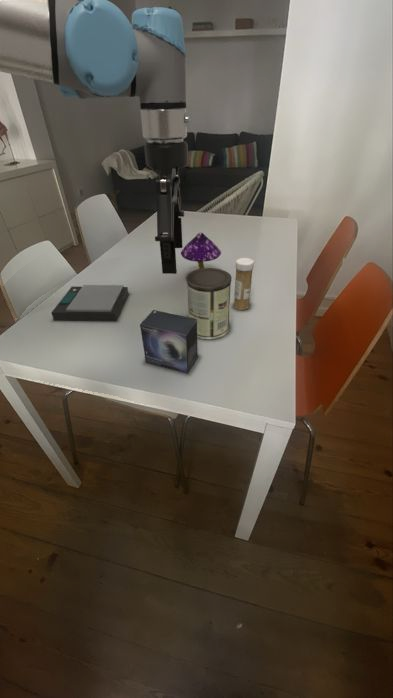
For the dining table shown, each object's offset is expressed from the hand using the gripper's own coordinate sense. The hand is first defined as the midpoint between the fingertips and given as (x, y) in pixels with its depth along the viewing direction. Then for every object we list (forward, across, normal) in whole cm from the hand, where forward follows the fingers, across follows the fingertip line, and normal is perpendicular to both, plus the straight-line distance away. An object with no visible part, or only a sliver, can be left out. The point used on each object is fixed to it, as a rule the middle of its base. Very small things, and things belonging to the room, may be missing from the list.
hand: (173, 259), depth 68 cm
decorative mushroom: (+19, +30, -5) cm, 36 cm away
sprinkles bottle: (+19, +13, -17) cm, 29 cm away
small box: (+19, -11, 0) cm, 22 cm away
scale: (+19, +12, +25) cm, 34 cm away
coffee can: (+19, +2, -8) cm, 21 cm away
